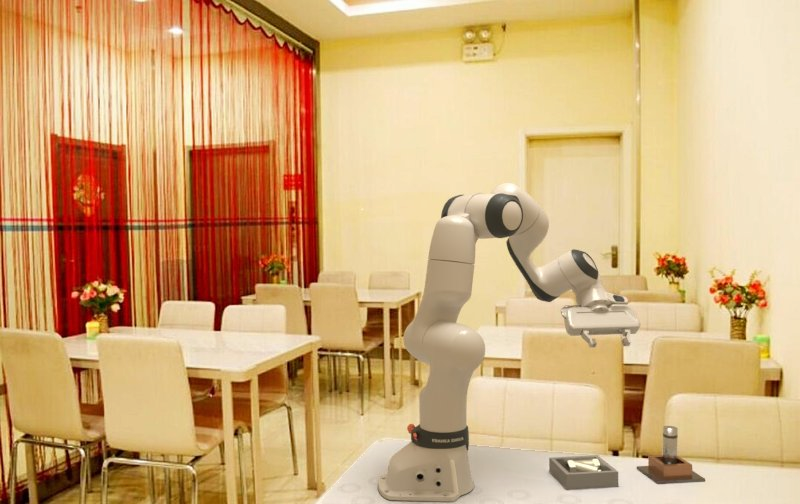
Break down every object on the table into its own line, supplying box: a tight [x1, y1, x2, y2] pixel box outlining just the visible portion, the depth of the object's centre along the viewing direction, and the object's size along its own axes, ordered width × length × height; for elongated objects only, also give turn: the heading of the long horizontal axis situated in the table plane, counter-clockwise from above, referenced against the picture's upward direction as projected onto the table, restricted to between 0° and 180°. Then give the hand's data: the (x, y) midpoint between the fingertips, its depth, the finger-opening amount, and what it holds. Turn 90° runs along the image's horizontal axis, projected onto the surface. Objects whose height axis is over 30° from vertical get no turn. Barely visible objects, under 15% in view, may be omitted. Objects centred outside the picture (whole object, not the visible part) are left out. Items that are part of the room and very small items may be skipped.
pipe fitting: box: [564, 459, 601, 473], centre depth 154 cm, size 8×4×7 cm
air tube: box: [662, 425, 678, 464], centre depth 154 cm, size 3×3×11 cm
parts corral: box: [548, 454, 619, 490], centre depth 152 cm, size 12×12×4 cm
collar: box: [636, 454, 706, 485], centre depth 154 cm, size 12×10×4 cm
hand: (610, 345), depth 168 cm, fingers open, 8 cm apart
